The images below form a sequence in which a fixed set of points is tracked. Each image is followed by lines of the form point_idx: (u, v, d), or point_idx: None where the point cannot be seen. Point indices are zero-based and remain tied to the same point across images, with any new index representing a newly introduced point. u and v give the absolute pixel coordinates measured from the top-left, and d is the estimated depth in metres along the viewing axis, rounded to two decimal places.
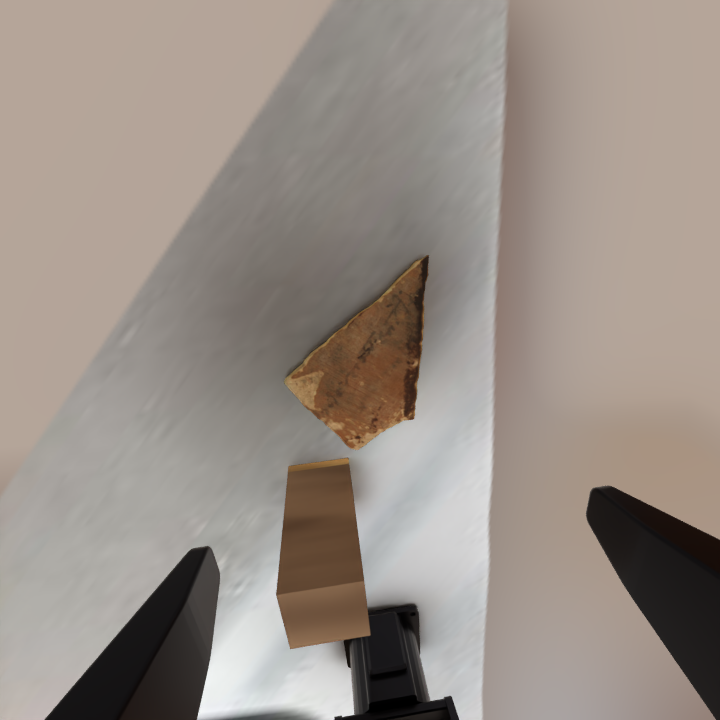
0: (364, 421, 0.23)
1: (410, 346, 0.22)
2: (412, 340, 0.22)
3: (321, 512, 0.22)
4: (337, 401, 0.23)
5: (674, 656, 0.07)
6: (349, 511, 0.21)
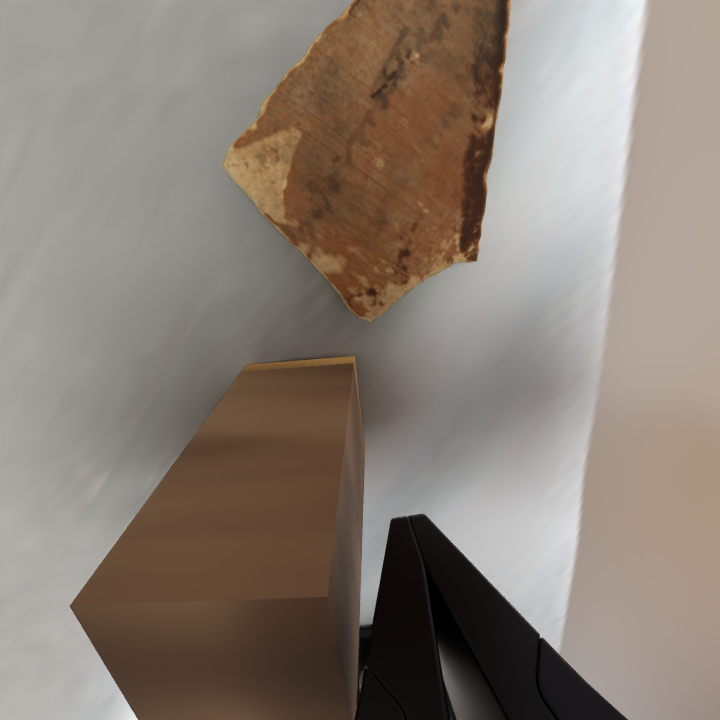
0: (384, 255, 0.12)
1: (480, 75, 0.11)
2: (485, 59, 0.10)
3: (273, 429, 0.10)
4: (330, 204, 0.11)
5: (450, 697, 0.07)
6: (334, 432, 0.10)
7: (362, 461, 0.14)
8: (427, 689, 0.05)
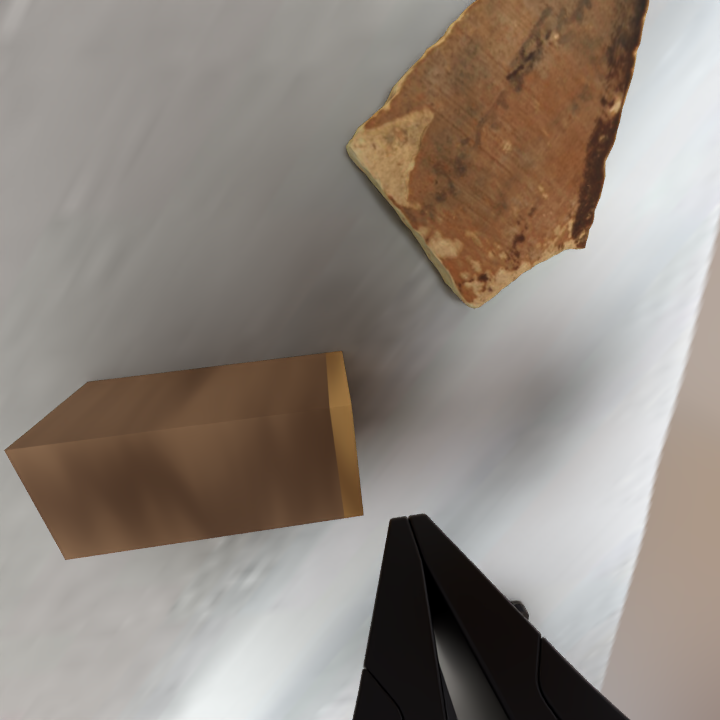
0: (500, 240, 0.12)
1: (615, 58, 0.10)
2: (621, 41, 0.10)
3: (203, 393, 0.12)
4: (455, 187, 0.11)
5: (451, 697, 0.07)
6: (176, 422, 0.10)
7: (308, 508, 0.12)
8: (425, 689, 0.05)
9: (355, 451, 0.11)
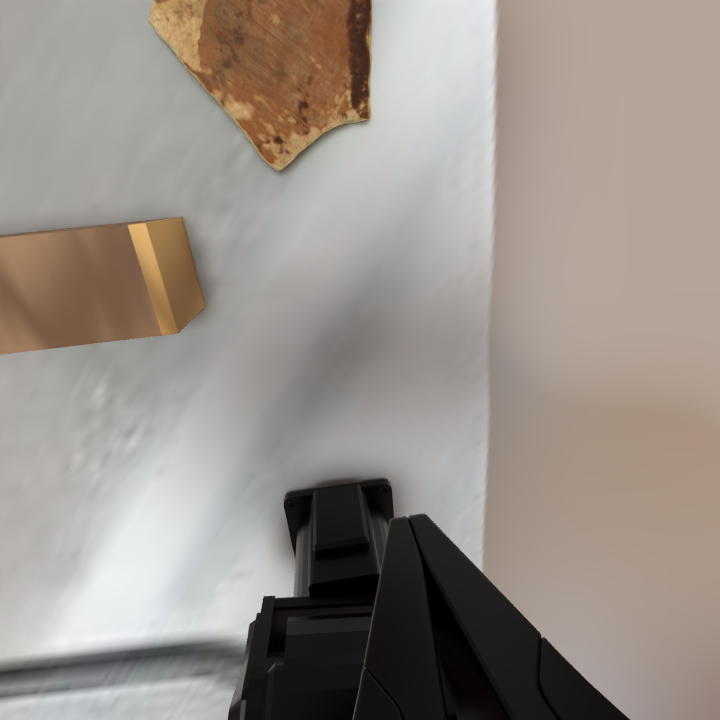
0: (286, 106, 0.15)
1: None
2: None
3: None
4: (237, 55, 0.14)
5: (451, 697, 0.07)
6: (5, 237, 0.13)
7: (128, 323, 0.14)
8: (425, 689, 0.05)
9: (158, 268, 0.14)
